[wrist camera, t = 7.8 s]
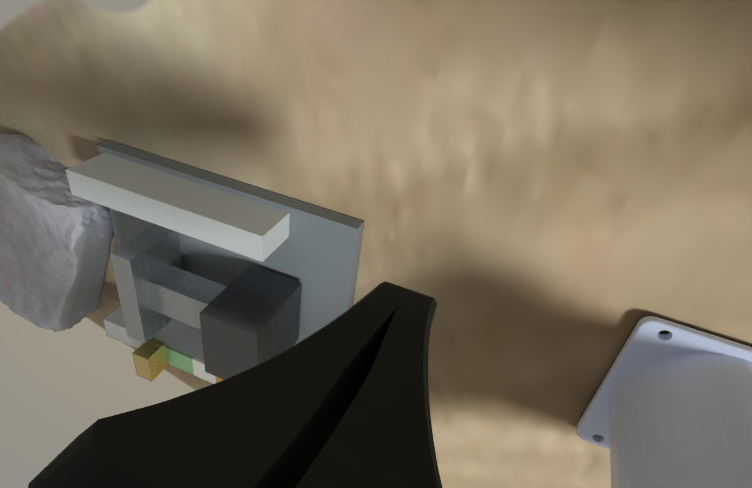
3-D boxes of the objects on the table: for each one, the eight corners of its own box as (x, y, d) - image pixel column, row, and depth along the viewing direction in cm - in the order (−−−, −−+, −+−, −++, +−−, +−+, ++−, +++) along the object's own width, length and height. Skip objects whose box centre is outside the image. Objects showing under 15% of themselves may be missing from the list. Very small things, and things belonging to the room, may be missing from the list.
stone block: (24, 231, 37) (108, 320, 35) (-52, 253, 33) (38, 355, 32) (34, 99, 30) (138, 202, 29) (-60, 108, 27) (54, 227, 25)
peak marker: (165, 342, 28) (147, 359, 26) (168, 364, 29) (151, 381, 27) (150, 336, 28) (132, 353, 27) (154, 358, 29) (136, 375, 28)
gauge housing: (364, 221, 23) (334, 257, 20) (341, 387, 30) (316, 431, 27) (108, 139, 26) (53, 162, 24) (139, 306, 33) (99, 337, 30)
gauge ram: (302, 270, 24) (256, 322, 21) (297, 362, 28) (257, 419, 25) (160, 220, 26) (98, 260, 23) (173, 313, 30) (121, 359, 27)
